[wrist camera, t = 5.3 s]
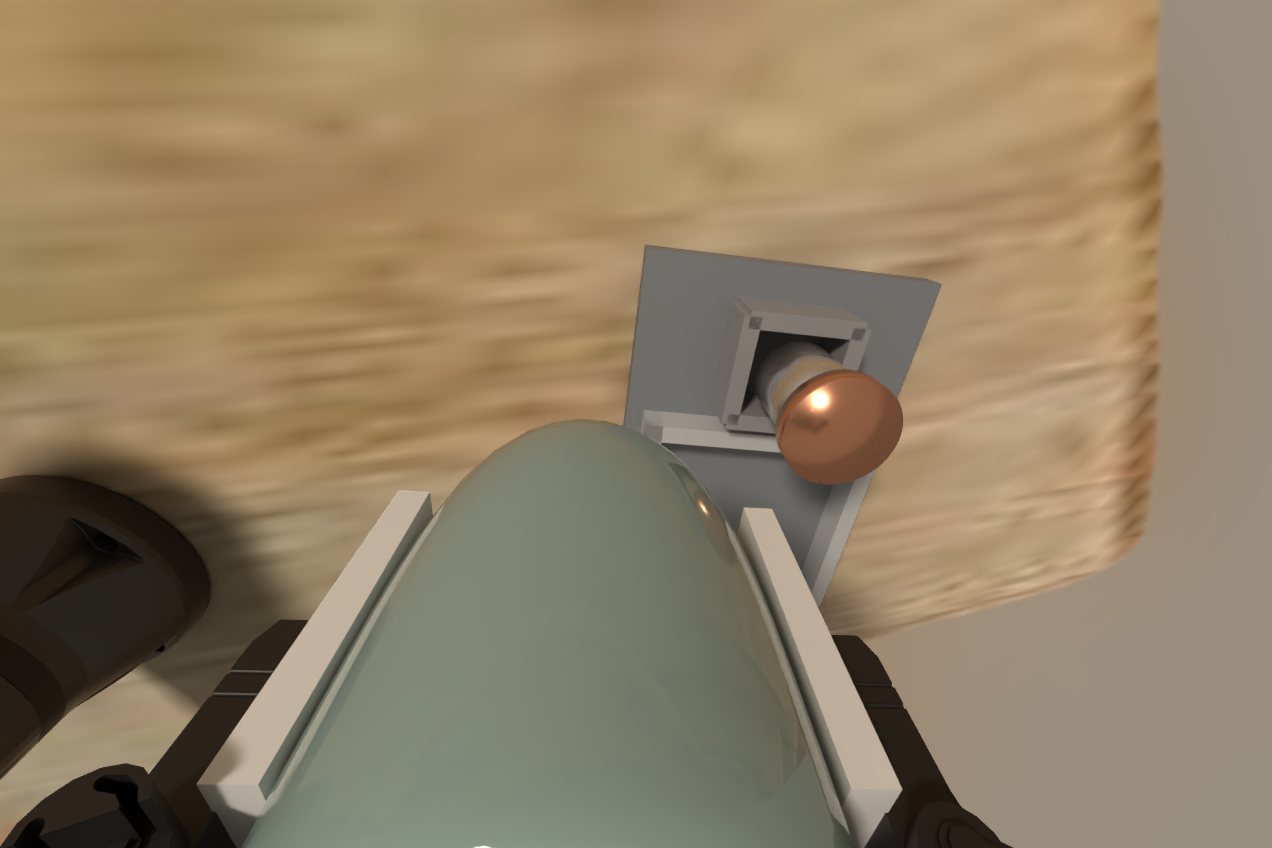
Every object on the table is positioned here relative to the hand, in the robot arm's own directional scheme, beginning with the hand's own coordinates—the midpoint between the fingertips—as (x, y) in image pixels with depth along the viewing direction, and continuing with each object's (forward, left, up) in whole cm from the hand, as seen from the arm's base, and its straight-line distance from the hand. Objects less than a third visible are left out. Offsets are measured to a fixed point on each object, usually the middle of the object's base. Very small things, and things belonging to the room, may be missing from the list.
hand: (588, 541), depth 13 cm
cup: (0, 0, -2) cm, 2 cm away
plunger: (+10, +1, -13) cm, 16 cm away
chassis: (+10, -6, -17) cm, 21 cm away
